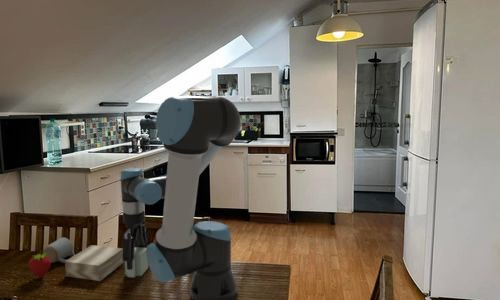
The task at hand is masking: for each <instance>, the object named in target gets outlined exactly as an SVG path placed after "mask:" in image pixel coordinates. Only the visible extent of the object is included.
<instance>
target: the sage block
mask: <svg viewBox="0 0 500 300" xmlns="http://www.w3.org/2000/svg"><path fill="white" fill-rule="evenodd" d="M133 259H135V277H142V276H143V275H144V274H145V273H146V271H147V270H148V269H149V264H148V261H147V256H146V248H138V246H137V247H136V246H135V249H134V257H133ZM124 275H125V276H127V262H126V261H124Z"/></svg>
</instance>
